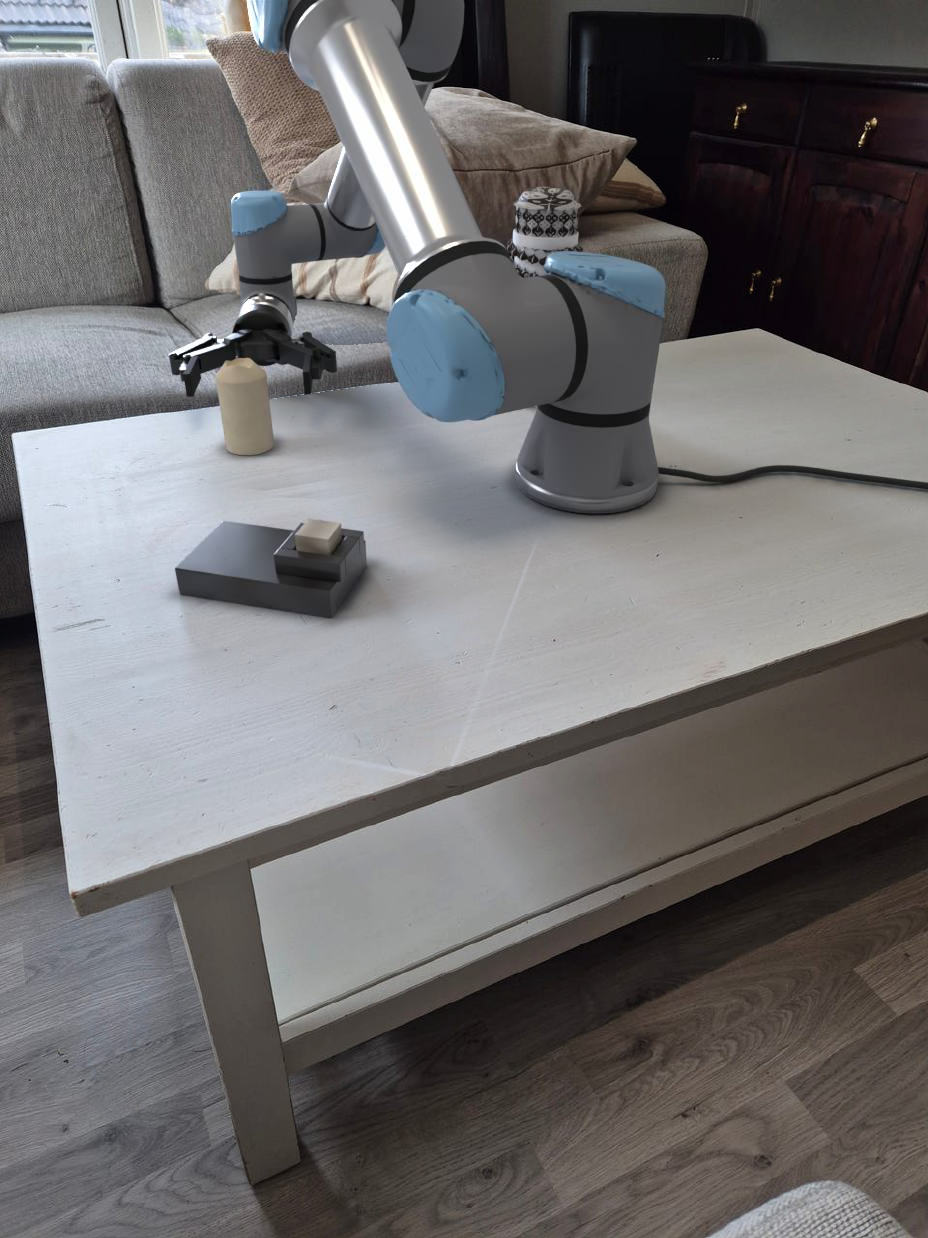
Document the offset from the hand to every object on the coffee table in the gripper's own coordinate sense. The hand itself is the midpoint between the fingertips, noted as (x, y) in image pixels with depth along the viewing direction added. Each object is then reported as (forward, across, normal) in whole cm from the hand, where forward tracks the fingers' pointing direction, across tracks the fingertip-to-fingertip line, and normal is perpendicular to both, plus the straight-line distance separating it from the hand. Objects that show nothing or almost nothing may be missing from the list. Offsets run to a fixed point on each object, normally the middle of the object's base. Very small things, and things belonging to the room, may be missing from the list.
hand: (247, 384), depth 104 cm
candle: (+4, 0, +6) cm, 7 cm away
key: (+36, +9, +2) cm, 37 cm away
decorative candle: (-10, +36, +6) cm, 38 cm away
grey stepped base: (+34, +5, +6) cm, 35 cm away
